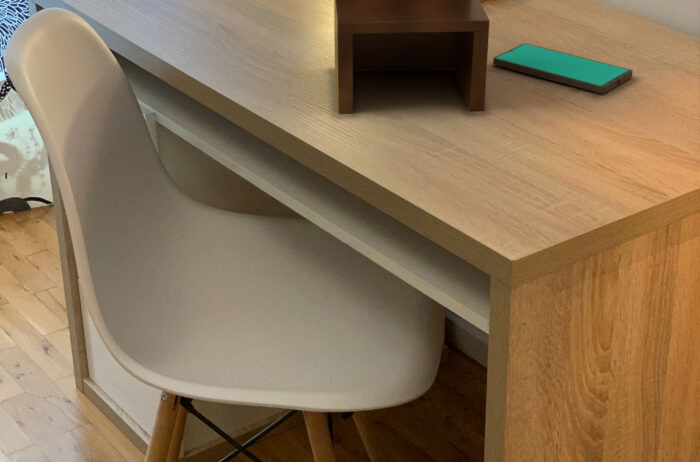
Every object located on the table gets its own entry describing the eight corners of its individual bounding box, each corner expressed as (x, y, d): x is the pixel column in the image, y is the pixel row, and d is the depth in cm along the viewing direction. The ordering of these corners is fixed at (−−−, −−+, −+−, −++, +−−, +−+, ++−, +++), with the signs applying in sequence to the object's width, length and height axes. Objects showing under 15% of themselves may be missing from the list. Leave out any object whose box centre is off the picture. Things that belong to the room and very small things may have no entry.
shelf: (466, 65, 130) (474, -86, 121) (484, 110, 118) (494, -55, 109) (334, 68, 129) (333, -84, 121) (338, 113, 117) (336, -52, 108)
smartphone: (603, 87, 121) (492, 57, 129) (602, 94, 121) (491, 64, 130) (634, 70, 126) (525, 42, 134) (633, 76, 126) (524, 49, 135)
